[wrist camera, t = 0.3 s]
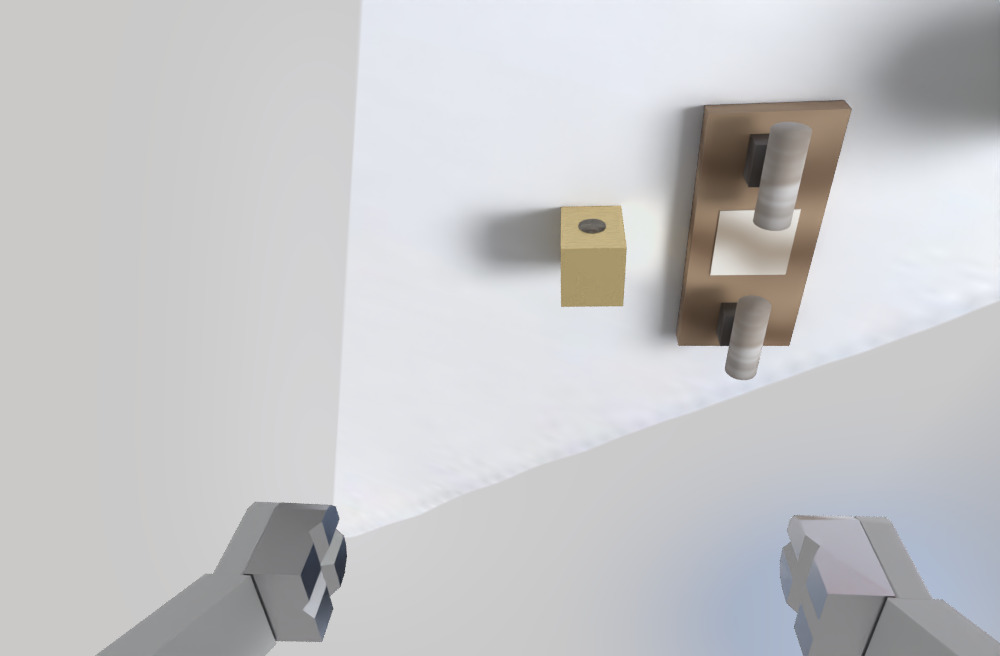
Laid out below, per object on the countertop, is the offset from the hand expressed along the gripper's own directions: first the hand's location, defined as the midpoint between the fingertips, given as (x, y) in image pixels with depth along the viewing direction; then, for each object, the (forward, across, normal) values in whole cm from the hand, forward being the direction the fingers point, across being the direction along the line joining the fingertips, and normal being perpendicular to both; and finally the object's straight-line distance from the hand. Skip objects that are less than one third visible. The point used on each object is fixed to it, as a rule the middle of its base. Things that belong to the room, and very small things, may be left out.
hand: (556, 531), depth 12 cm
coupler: (+40, -2, +12) cm, 42 cm away
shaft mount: (+40, -14, +12) cm, 44 cm away
